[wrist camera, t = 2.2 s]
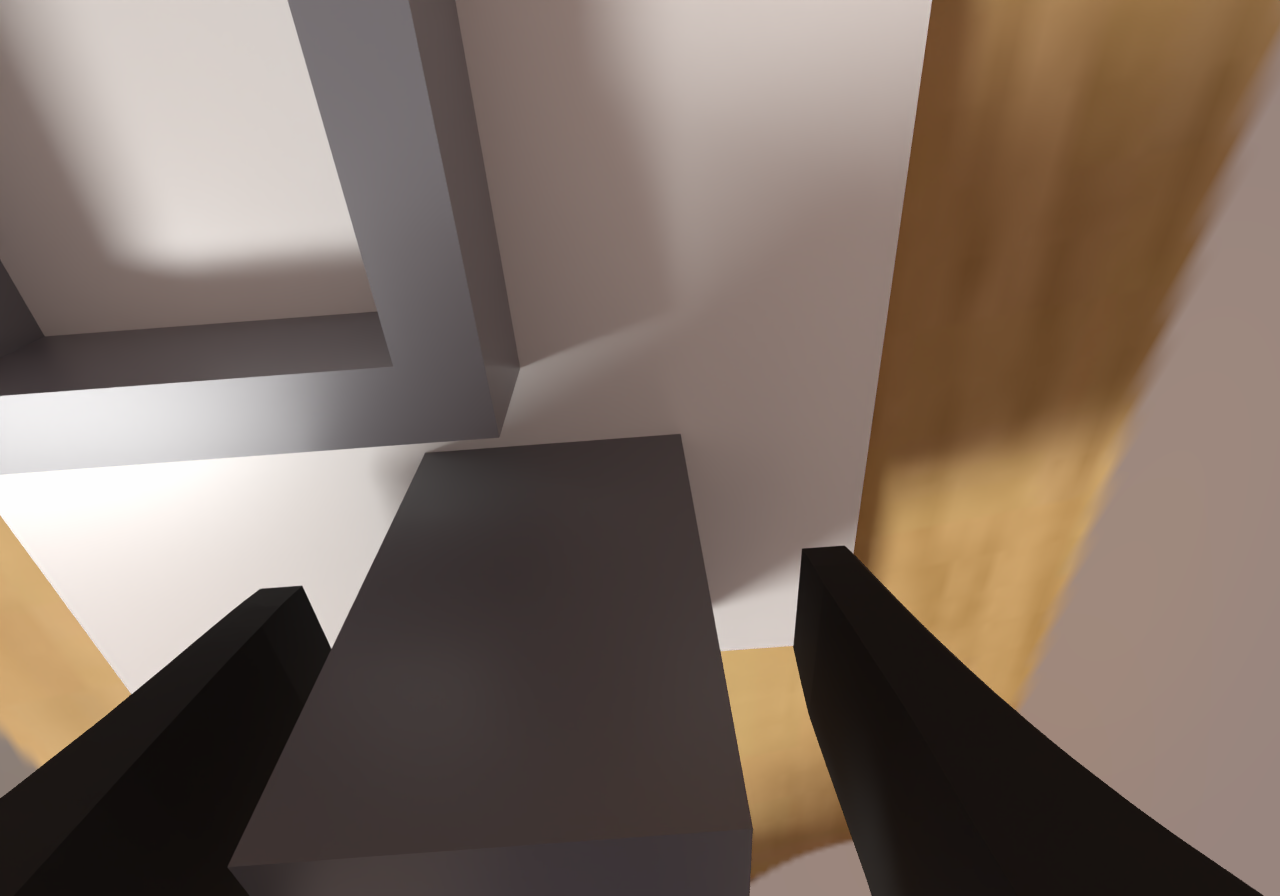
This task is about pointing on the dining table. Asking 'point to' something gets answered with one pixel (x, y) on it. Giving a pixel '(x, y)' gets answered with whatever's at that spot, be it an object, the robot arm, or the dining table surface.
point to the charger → (519, 696)
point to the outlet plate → (432, 278)
